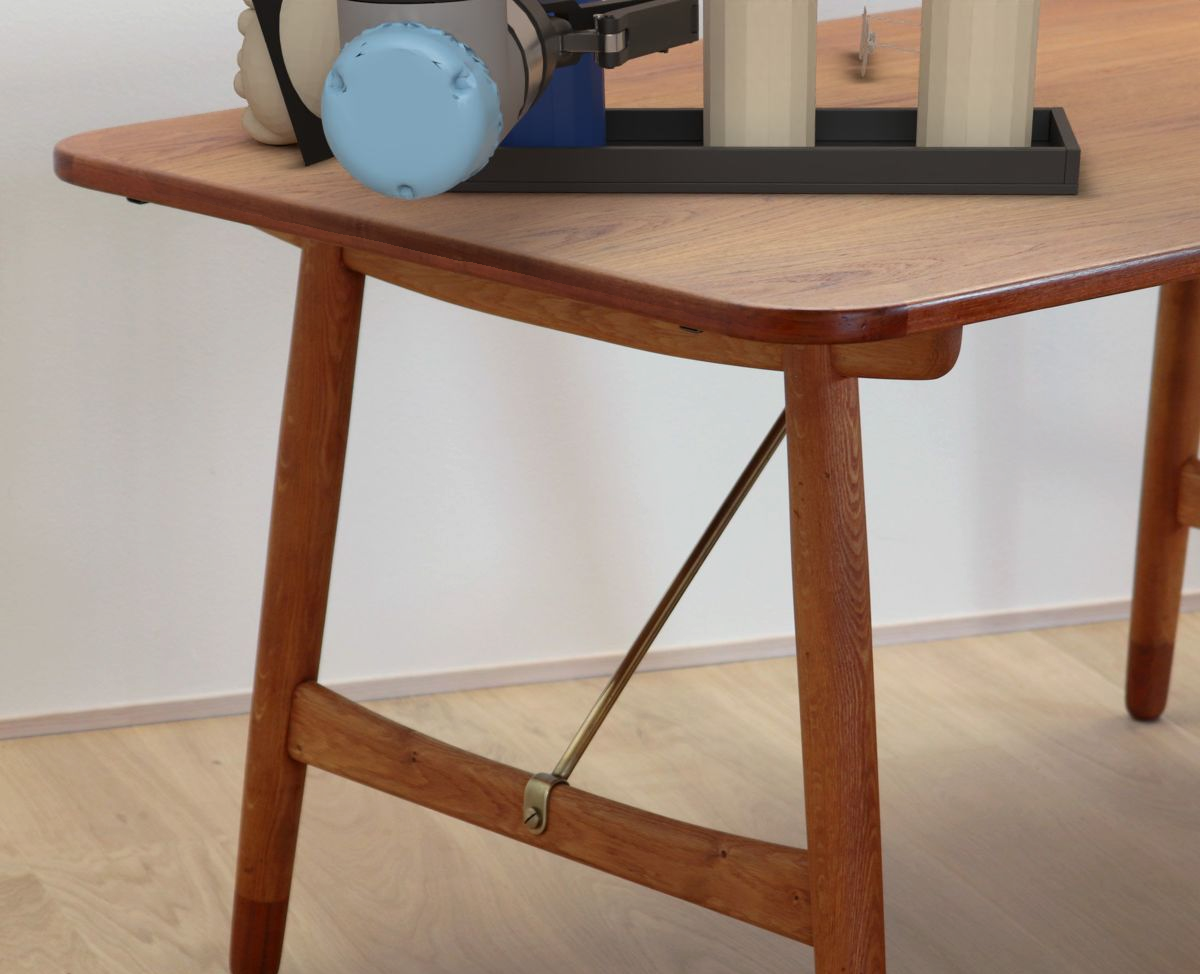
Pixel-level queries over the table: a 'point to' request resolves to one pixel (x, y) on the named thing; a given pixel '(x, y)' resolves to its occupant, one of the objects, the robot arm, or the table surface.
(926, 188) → the tray
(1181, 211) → the table surface
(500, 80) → the robot arm
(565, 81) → the blue bottle
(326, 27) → the decorative object
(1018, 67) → the cream bottle far
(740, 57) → the cream bottle mid
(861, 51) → the eyeglasses
